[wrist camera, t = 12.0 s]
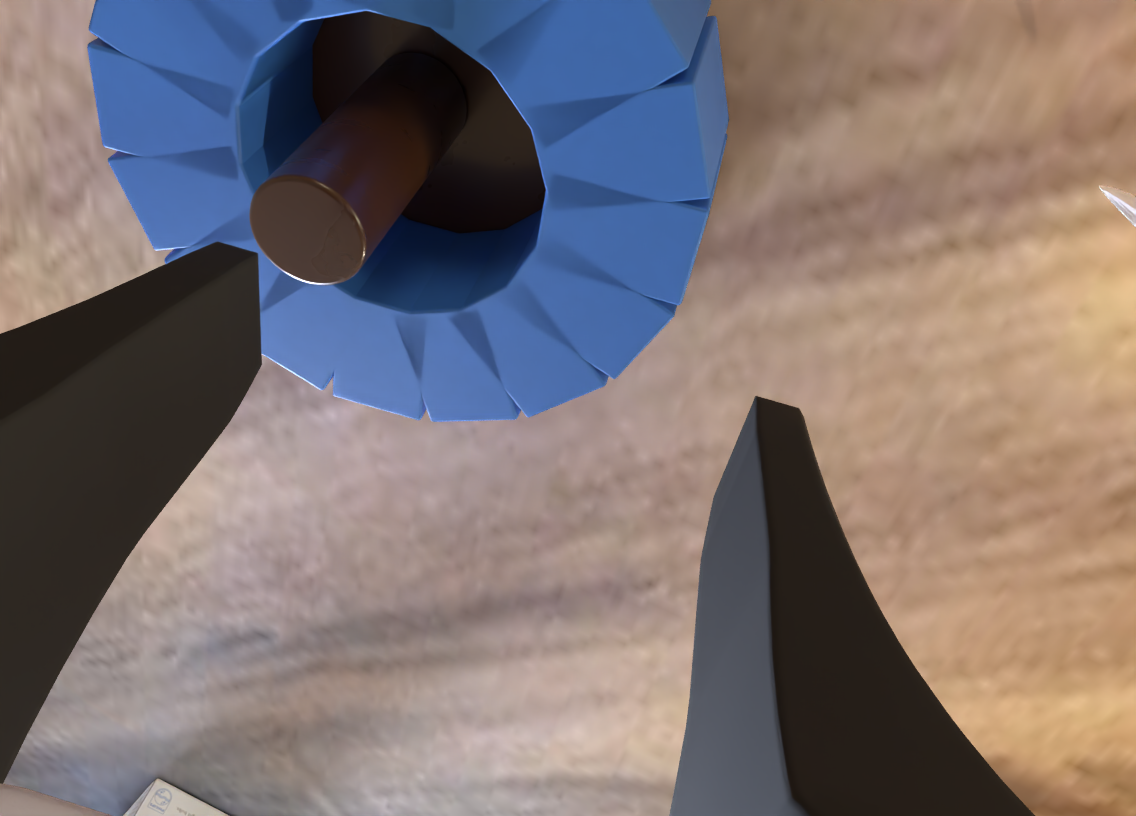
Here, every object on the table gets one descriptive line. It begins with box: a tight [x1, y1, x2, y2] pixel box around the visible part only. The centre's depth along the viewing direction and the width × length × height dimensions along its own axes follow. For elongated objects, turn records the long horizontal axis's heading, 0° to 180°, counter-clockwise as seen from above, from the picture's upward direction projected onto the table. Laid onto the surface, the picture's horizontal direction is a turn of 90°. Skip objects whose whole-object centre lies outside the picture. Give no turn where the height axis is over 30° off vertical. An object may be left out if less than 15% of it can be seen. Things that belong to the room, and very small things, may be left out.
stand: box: [249, 11, 546, 285], centre depth 18 cm, size 9×9×7 cm
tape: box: [87, 0, 729, 422], centre depth 19 cm, size 11×11×3 cm
